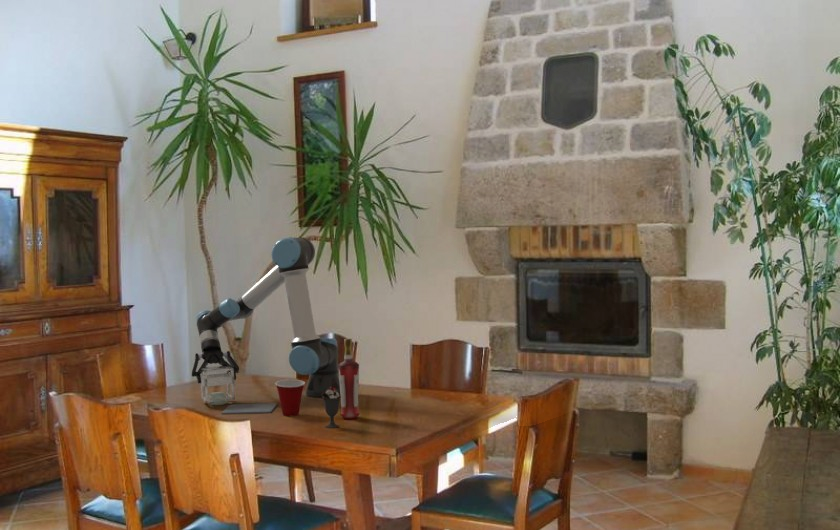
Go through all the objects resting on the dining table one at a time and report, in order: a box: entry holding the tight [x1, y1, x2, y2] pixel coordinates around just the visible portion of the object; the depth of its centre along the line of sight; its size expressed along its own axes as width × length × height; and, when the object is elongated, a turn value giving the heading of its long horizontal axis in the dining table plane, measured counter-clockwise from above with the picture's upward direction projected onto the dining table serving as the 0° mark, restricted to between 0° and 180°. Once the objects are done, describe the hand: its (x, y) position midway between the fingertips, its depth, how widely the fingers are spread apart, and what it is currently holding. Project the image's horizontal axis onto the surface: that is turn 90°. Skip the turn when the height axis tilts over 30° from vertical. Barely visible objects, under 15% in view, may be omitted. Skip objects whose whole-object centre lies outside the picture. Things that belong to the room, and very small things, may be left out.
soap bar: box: [208, 391, 227, 406], centre depth 355 cm, size 6×6×4 cm
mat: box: [221, 403, 278, 415], centre depth 341 cm, size 18×16×1 cm
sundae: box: [321, 382, 341, 429], centre depth 306 cm, size 7×7×15 cm
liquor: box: [338, 338, 360, 420], centre depth 320 cm, size 7×7×28 cm
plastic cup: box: [274, 379, 306, 417], centre depth 329 cm, size 11×11×12 cm
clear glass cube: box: [200, 365, 236, 403], centre depth 355 cm, size 11×11×12 cm
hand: (218, 387), depth 352 cm, fingers closed on clear glass cube, 11 cm apart
